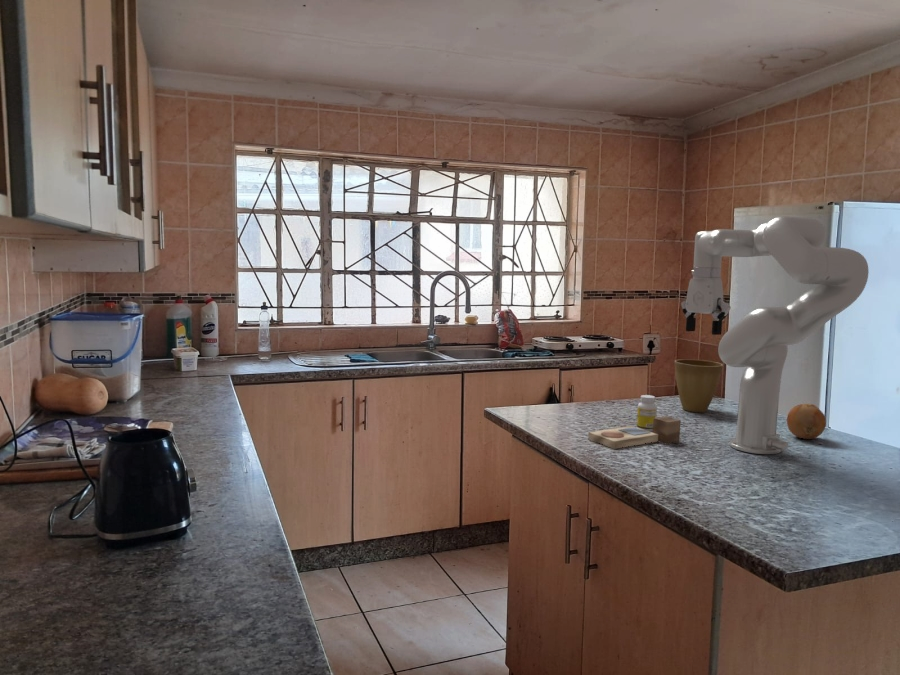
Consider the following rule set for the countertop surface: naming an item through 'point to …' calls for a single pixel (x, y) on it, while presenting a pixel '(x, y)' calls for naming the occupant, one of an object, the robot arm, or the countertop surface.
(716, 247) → the robot arm
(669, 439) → the walnut block
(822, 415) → the onion
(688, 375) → the plant pot
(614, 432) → the board
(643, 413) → the supplement bottle
